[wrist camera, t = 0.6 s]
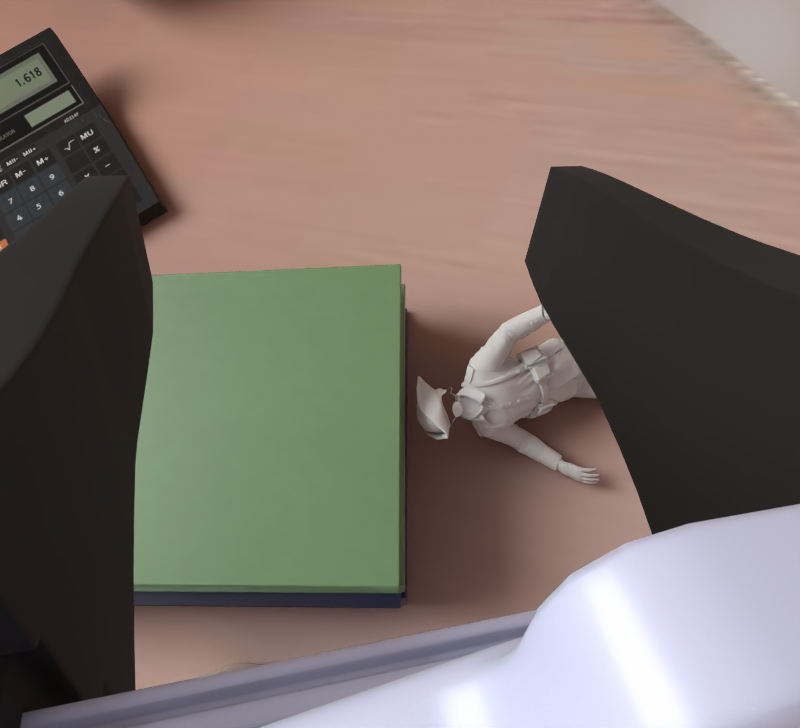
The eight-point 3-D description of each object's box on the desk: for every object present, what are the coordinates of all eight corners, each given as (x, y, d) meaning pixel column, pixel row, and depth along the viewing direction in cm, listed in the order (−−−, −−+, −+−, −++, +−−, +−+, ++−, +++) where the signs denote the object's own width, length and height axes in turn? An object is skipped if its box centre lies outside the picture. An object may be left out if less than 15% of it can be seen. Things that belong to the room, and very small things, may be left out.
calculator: (0, 310, 31) (-47, 283, 28) (-70, 151, 34) (-119, 113, 31) (167, 211, 31) (137, 175, 29) (80, 66, 35) (46, 22, 32)
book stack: (410, 605, 24) (399, 611, 20) (34, 601, 26) (-48, 606, 22) (410, 309, 28) (400, 264, 24) (84, 321, 30) (23, 280, 26)
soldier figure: (724, 433, 26) (484, 555, 22) (636, 393, 30) (420, 490, 26) (733, 253, 23) (456, 355, 19) (633, 236, 27) (388, 317, 23)
